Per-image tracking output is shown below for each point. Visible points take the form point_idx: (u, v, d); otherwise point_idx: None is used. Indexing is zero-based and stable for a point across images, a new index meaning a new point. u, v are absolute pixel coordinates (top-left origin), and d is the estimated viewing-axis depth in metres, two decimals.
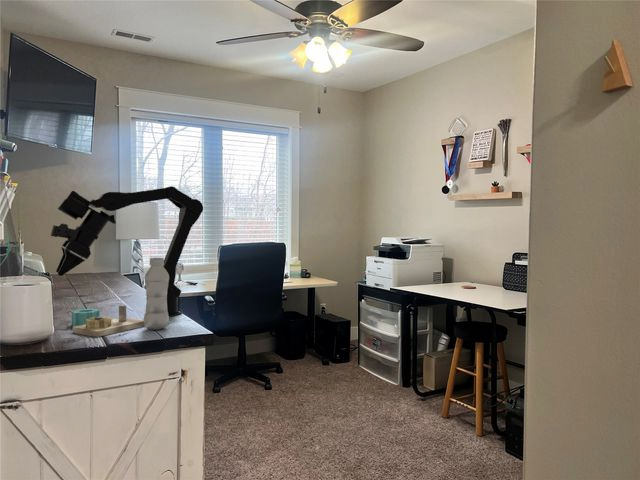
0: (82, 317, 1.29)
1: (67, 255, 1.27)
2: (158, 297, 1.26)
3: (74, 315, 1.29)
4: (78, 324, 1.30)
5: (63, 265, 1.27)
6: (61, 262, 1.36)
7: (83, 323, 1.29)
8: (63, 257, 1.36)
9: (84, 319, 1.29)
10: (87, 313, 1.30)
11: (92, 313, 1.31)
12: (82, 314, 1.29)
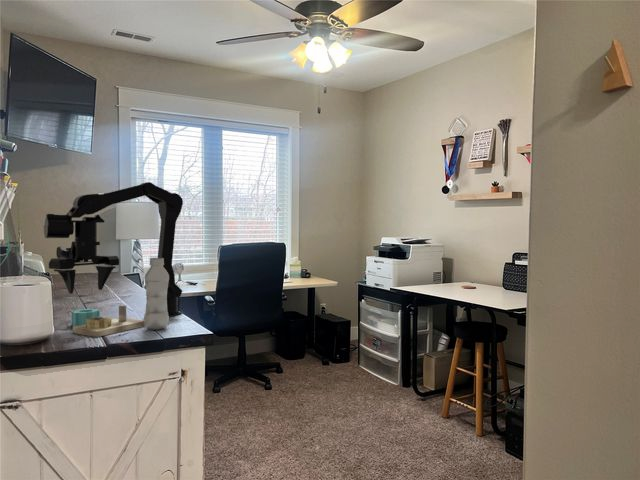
0: (82, 317, 1.29)
1: (60, 273, 1.27)
2: (158, 297, 1.26)
3: (74, 315, 1.29)
4: (78, 324, 1.30)
5: (65, 283, 1.28)
6: (98, 279, 1.37)
7: (83, 323, 1.29)
8: (98, 274, 1.37)
9: (84, 319, 1.29)
10: (87, 313, 1.30)
11: (92, 313, 1.31)
12: (82, 314, 1.29)
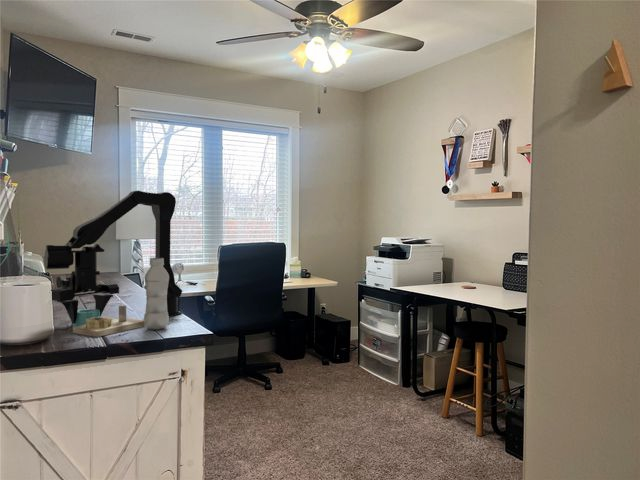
0: (82, 317, 1.29)
1: (63, 303, 1.28)
2: (158, 297, 1.26)
3: None
4: (78, 324, 1.30)
5: (68, 313, 1.29)
6: (96, 308, 1.36)
7: (83, 323, 1.29)
8: (96, 303, 1.37)
9: (84, 319, 1.29)
10: (87, 313, 1.30)
11: (92, 313, 1.31)
12: (82, 314, 1.29)
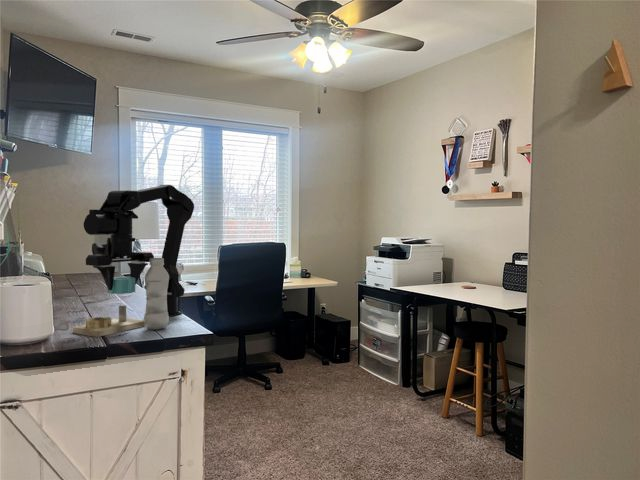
0: (118, 284, 1.27)
1: (100, 269, 1.26)
2: (158, 297, 1.26)
3: None
4: (114, 291, 1.28)
5: (105, 280, 1.27)
6: (131, 276, 1.34)
7: (119, 290, 1.27)
8: (131, 271, 1.35)
9: (120, 286, 1.27)
10: (123, 280, 1.28)
11: (128, 280, 1.29)
12: (118, 281, 1.27)
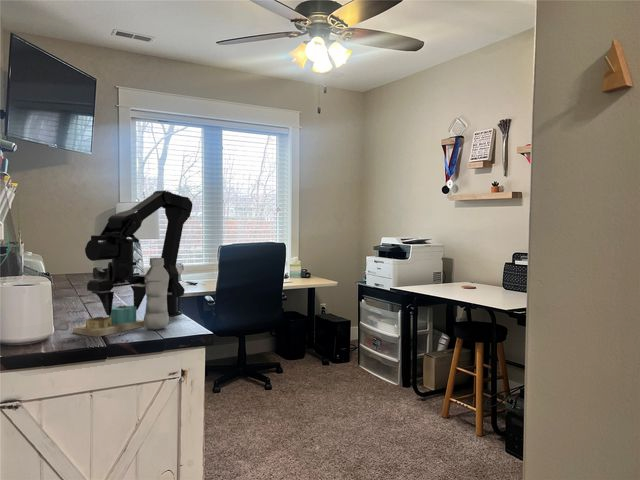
0: (120, 314, 1.27)
1: (98, 295, 1.26)
2: (158, 297, 1.26)
3: (112, 311, 1.28)
4: (116, 321, 1.28)
5: (103, 305, 1.26)
6: (134, 299, 1.35)
7: (121, 320, 1.27)
8: (134, 294, 1.35)
9: (122, 316, 1.28)
10: (125, 309, 1.28)
11: (130, 309, 1.29)
12: (120, 310, 1.27)
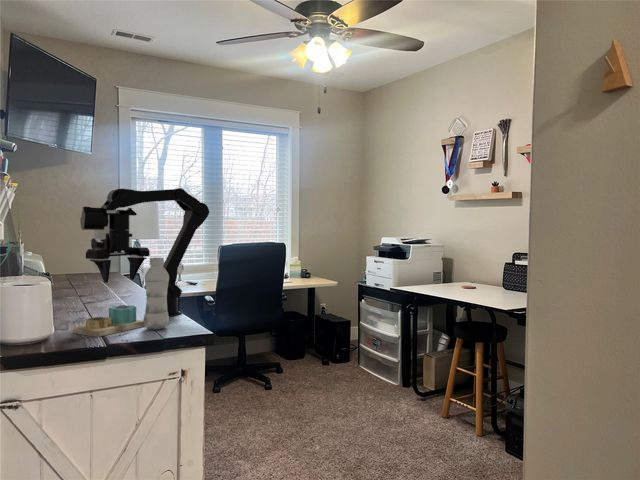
0: (120, 314, 1.27)
1: (96, 263, 1.34)
2: (158, 297, 1.26)
3: (112, 311, 1.28)
4: (116, 321, 1.28)
5: (101, 273, 1.34)
6: (130, 270, 1.43)
7: (121, 320, 1.27)
8: (130, 265, 1.44)
9: (122, 316, 1.28)
10: (125, 309, 1.28)
11: (130, 309, 1.29)
12: (120, 310, 1.27)
